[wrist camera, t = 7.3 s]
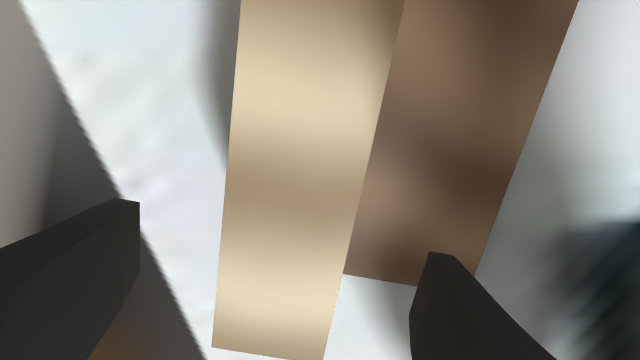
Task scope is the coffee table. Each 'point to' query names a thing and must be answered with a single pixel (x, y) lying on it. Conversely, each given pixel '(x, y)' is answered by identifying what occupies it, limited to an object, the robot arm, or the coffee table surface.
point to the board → (451, 129)
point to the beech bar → (297, 166)
